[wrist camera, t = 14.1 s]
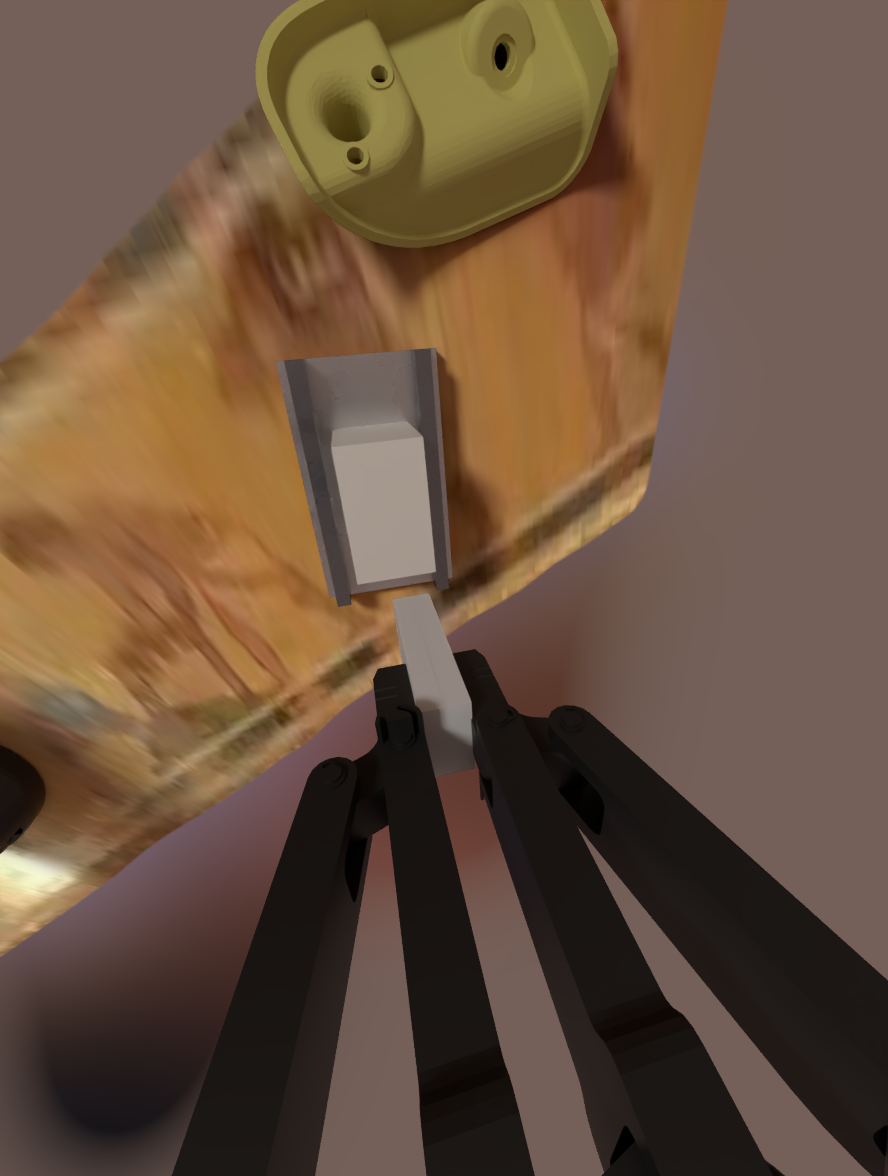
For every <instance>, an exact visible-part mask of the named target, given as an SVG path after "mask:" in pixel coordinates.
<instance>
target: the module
mask: <svg viewBox="0 0 888 1176" xmlns="http://www.w3.org/2000/svg"><path fill="white" fill-rule="evenodd" d="M331 450H332V455H333V460H334V465H335V471H336V476H337V481H338V486H339V491H340V497H341V504H342V510H343V515H344V520H345V525H346V530H347V535H348V538H349V543H350V548H351V553H352V559H353V564H354V569H355V574H356V579H357V584H358V585H359V584H365V583H371V582H377V581H383V580H389V579H396V578H402V577H408V576H414V575H420V574H426V573H433V572H436V567H435V557H434V546H433V536H432V525H431V514H430V503H429V493H428V483H427V472H426V462H425V451H424V441H423V436H422V435H421V434H420V433H419V432H418V431H417V430H416V429H415V428H413V427H412V426H411V425H410V424H409V423H408V422H407V421H405V422H396V423H387V424H378V425H369V426H359V427H350V428H341V429H333V430H332V442H331Z"/></svg>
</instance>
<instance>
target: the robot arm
mask: <svg viewBox="0 0 888 1176" xmlns="http://www.w3.org/2000/svg"><path fill="white" fill-rule="evenodd" d="M392 600H393V607H394V614H395V620H396V627H397V634H398V640H399V647H400V654H401V658H402V663H403V664H401V665H396V666H390V667H385V668H380V669H378V670H377V672H376V674H375V676H374V679H373V683H374V691H375V700H376V709H377V717H376V722H375V726H376V731H377V736H378V741H377V743H376V744H375V746H374V747H373V748H372V749H371V751H369V752H368V753H367V754H366V755H364V756H362V757H360V758H358V759H357V760H355V761H353V762H352V761H351V760H349V759H347V758H341V757H335V758H330V759H327V760H325V761H323V762H321V763H320V764H318V765H317V766H316V767H315V768H314V769H313V770H312V772H311V774H310V775H309V777H308V779H307V782H306V786H305V788H304V791H303V794H302V797H301V800H300V803H299V805H298V809H297V811H296V814H295V817H294V820H293V823H292V826H291V829H290V832H289V835H288V838H287V840H286V843H285V846H284V850H283V852H282V855H281V858H280V861H279V864H278V867H277V870H276V873H275V876H274V878H273V882H272V884H271V887H270V890H269V893H268V896H267V899H266V902H265V905H264V908H263V911H262V914H261V916H260V919H259V922H258V925H257V928H256V931H255V934H254V937H253V940H252V943H251V946H250V949H249V951H248V955H247V957H246V960H245V963H244V966H243V969H242V972H241V975H240V978H239V981H238V984H237V987H236V990H235V992H234V995H233V998H232V1001H231V1004H230V1007H229V1010H228V1013H227V1016H226V1019H225V1022H224V1025H223V1027H222V1030H221V1034H220V1036H219V1039H218V1042H217V1045H216V1048H215V1051H214V1054H213V1057H212V1060H211V1063H210V1066H209V1068H208V1071H207V1074H206V1077H205V1080H204V1083H203V1086H202V1089H201V1092H200V1095H199V1098H198V1101H197V1104H196V1106H195V1109H194V1112H193V1115H192V1118H191V1121H190V1124H189V1127H188V1130H187V1133H186V1136H185V1139H184V1141H183V1144H182V1147H181V1150H180V1153H179V1156H178V1159H177V1162H176V1165H175V1168H174V1171H173V1174H172V1176H315V1173H316V1167H317V1161H318V1154H319V1149H320V1143H321V1137H322V1131H323V1125H324V1120H325V1114H326V1108H327V1102H328V1096H329V1089H330V1084H331V1078H332V1072H333V1066H334V1060H335V1054H336V1049H337V1043H338V1037H339V1031H340V1025H341V1019H342V1013H343V1007H344V1001H345V995H346V990H347V983H348V978H349V972H350V965H351V960H352V954H353V948H354V942H355V936H356V930H357V925H358V919H359V912H360V907H361V901H362V895H363V889H364V883H365V877H366V871H367V866H368V860H369V854H370V848H371V842H372V835H373V834H374V833H376V832H378V831H379V830H381V829H383V828H384V827H386V826H387V825H389V832H390V840H391V850H392V858H393V866H394V875H395V884H396V893H397V901H398V909H399V919H400V927H401V935H402V944H403V953H404V962H405V970H406V979H407V987H408V996H409V1005H410V1014H411V1022H412V1030H413V1039H414V1048H415V1057H416V1065H417V1074H418V1083H419V1096H420V1117H421V1128H422V1138H423V1148H424V1157H425V1166H426V1175H427V1176H535V1175H534V1171H533V1167H532V1163H531V1159H530V1155H529V1150H528V1146H527V1143H526V1138H525V1134H524V1130H523V1126H522V1122H521V1118H520V1114H519V1110H518V1106H517V1102H516V1098H515V1094H514V1090H513V1087H512V1084H511V1080H510V1076H509V1074H508V1071H507V1069H506V1066H505V1063H504V1060H503V1056H502V1052H501V1048H500V1044H499V1040H498V1036H497V1031H496V1027H495V1023H494V1019H493V1015H492V1010H491V1007H490V1002H489V998H488V994H487V990H486V986H485V982H484V977H483V973H482V969H481V965H480V961H479V957H478V953H477V948H476V944H475V940H474V936H473V931H472V927H471V923H470V919H469V915H468V911H467V907H466V902H465V898H464V894H463V890H462V886H461V882H460V877H459V874H458V869H457V865H456V861H455V857H454V852H453V848H452V844H451V840H450V836H449V832H448V828H447V824H446V819H445V815H444V811H443V807H442V803H441V799H440V794H439V790H438V786H437V782H436V777H440V776H444V775H448V774H452V773H457V772H461V771H465V770H470V769H474V768H475V760H476V763H477V766H478V769H479V780H480V796H481V800H483V799H484V797H485V800H486V803H487V806H488V809H489V812H490V815H491V818H492V821H493V824H494V827H495V830H496V833H497V836H498V839H499V842H500V844H501V848H502V851H503V854H504V857H505V860H506V863H507V866H508V869H509V871H510V874H511V878H512V881H513V883H514V887H515V890H516V893H517V896H518V899H519V901H520V905H521V908H522V911H523V913H524V916H525V919H526V922H527V925H528V928H529V931H530V934H531V937H532V940H533V943H534V946H535V949H536V952H537V955H538V958H539V961H540V964H541V967H542V970H543V973H544V976H545V979H546V982H547V985H548V988H549V991H550V994H551V997H552V1000H553V1003H554V1006H555V1009H556V1012H557V1015H558V1018H559V1021H560V1024H561V1027H562V1030H563V1033H564V1036H565V1039H566V1042H567V1045H568V1048H569V1051H570V1054H571V1056H572V1060H573V1063H574V1066H575V1069H576V1072H577V1075H578V1078H579V1081H580V1085H581V1089H582V1093H583V1098H584V1104H585V1108H586V1114H587V1117H588V1121H589V1125H590V1128H591V1132H592V1136H593V1139H594V1142H595V1145H596V1148H597V1152H598V1154H599V1158H600V1161H601V1164H602V1166H603V1170H604V1174H603V1175H602V1176H784V1175H783V1174H782V1173H781V1172H780V1171H779V1170H777V1169H776V1168H775V1167H774V1166H773V1165H771V1164H770V1163H768V1162H767V1161H766V1160H765V1159H764V1158H763V1156H762V1154H761V1152H760V1150H759V1148H758V1146H757V1144H756V1143H755V1141H754V1139H753V1137H752V1135H751V1133H750V1131H749V1130H748V1127H747V1126H746V1124H745V1122H744V1120H743V1118H742V1116H741V1114H740V1112H739V1111H738V1109H737V1107H736V1105H735V1103H734V1101H733V1099H732V1097H731V1096H730V1094H729V1092H728V1090H727V1088H726V1086H725V1084H724V1082H723V1081H722V1079H721V1077H720V1075H719V1073H718V1071H717V1069H716V1067H715V1066H714V1064H713V1062H712V1060H711V1058H710V1056H709V1054H708V1053H707V1051H706V1049H705V1047H704V1045H703V1043H702V1042H701V1040H700V1038H699V1036H698V1035H697V1033H696V1032H695V1030H694V1028H693V1027H692V1025H691V1024H690V1023H689V1022H688V1020H687V1019H686V1018H685V1016H684V1015H683V1014H681V1013H680V1012H678V1011H677V1010H676V1009H674V1008H673V1007H672V1006H671V1005H670V1004H669V1002H668V1001H667V1000H666V999H665V997H664V995H663V993H662V991H661V990H660V988H659V986H658V984H657V982H656V980H655V978H654V976H653V974H652V972H651V970H650V968H649V966H648V964H647V963H646V961H645V958H644V956H643V954H642V952H641V950H640V948H639V946H638V944H637V943H636V941H635V939H634V937H633V935H632V933H631V931H630V929H629V927H628V925H627V923H626V921H625V919H624V917H623V915H622V913H621V911H620V909H619V907H618V905H617V904H616V901H615V900H614V898H613V896H612V894H611V892H610V890H609V888H608V886H607V884H606V882H605V880H604V878H603V876H602V874H601V872H600V870H599V868H598V866H597V864H596V863H595V860H594V859H593V856H592V855H591V853H590V851H589V849H588V847H587V845H586V843H585V841H584V839H583V837H582V835H581V833H580V831H579V829H580V830H581V831H582V832H583V834H584V835H585V836H586V837H587V838H588V840H589V841H590V842H591V843H592V845H593V846H594V847H595V848H596V850H597V851H598V852H599V853H600V855H601V856H602V857H603V858H604V859H605V861H606V862H607V863H608V864H609V866H610V867H611V868H612V869H613V871H614V872H615V873H616V874H617V875H618V877H619V878H620V879H621V880H622V882H623V883H624V884H625V885H626V887H627V888H628V889H629V890H630V891H631V893H632V894H633V895H634V896H635V898H636V899H637V900H638V901H639V903H640V904H641V905H642V906H643V907H644V909H645V910H646V911H647V912H648V914H649V915H650V916H651V917H652V919H653V920H654V921H655V922H656V923H657V925H658V926H659V927H660V928H661V930H662V931H663V932H664V933H665V935H666V936H667V937H668V938H669V940H670V941H671V942H672V943H673V944H674V946H675V947H676V948H677V949H678V951H679V952H680V953H681V954H682V956H683V957H684V958H685V959H686V960H687V962H688V963H689V964H690V965H691V966H692V968H693V969H694V970H695V972H696V973H697V974H698V975H699V976H700V978H701V979H702V980H703V981H704V983H705V984H706V985H707V986H708V987H709V989H710V990H711V991H712V992H713V994H714V995H715V996H716V997H717V999H718V1000H719V1001H720V1002H721V1004H722V1005H723V1006H724V1007H725V1009H726V1010H727V1011H728V1012H729V1013H730V1015H731V1016H732V1017H733V1018H734V1020H735V1021H736V1022H737V1023H738V1025H739V1026H740V1027H741V1028H742V1029H743V1031H744V1032H745V1033H746V1034H747V1035H748V1037H749V1038H750V1039H751V1041H752V1042H753V1043H754V1044H755V1045H756V1047H757V1048H758V1049H759V1050H760V1052H761V1053H762V1054H763V1055H764V1056H765V1058H766V1059H767V1060H768V1061H769V1063H770V1064H771V1065H772V1066H773V1068H774V1069H775V1070H776V1071H777V1073H778V1074H779V1075H780V1076H781V1078H782V1079H783V1080H784V1081H785V1082H786V1084H787V1085H788V1086H789V1087H790V1089H791V1090H792V1091H793V1092H794V1093H795V1094H796V1096H797V1097H798V1098H799V1099H800V1100H801V1101H802V1102H803V1104H804V1105H805V1106H806V1107H807V1108H808V1109H809V1111H810V1112H811V1113H812V1114H813V1115H814V1116H815V1117H816V1119H817V1120H818V1121H819V1122H820V1123H821V1125H822V1126H823V1127H824V1128H825V1129H826V1130H827V1131H828V1132H829V1133H830V1134H831V1135H832V1136H833V1137H834V1138H835V1139H836V1140H837V1141H838V1142H839V1143H840V1144H841V1145H842V1146H843V1147H844V1148H845V1149H846V1150H847V1151H848V1152H849V1153H850V1154H851V1156H853V1158H854V1159H855V1160H857V1162H858V1163H859V1164H860V1165H861V1166H862V1167H863V1168H864V1169H866V1170H867V1171H868V1172H869V1173H870V1174H871V1175H872V1176H888V980H887V979H886V978H884V977H883V976H882V975H881V974H880V973H879V972H878V971H877V970H875V969H874V968H873V967H872V966H871V965H870V964H869V963H868V962H867V961H865V960H864V959H863V958H862V957H861V956H860V955H859V954H858V953H857V952H855V951H854V950H853V949H852V948H851V947H850V946H849V945H848V944H847V943H845V942H844V941H843V940H842V939H841V938H840V937H838V935H837V934H835V933H834V932H833V931H832V930H831V929H830V928H829V927H828V926H827V925H825V924H824V923H823V922H822V921H821V920H820V919H819V918H818V917H817V916H815V915H814V914H813V913H812V912H811V911H810V910H809V909H808V908H806V907H805V906H804V905H803V904H802V903H801V902H800V901H799V900H797V899H796V898H795V897H794V896H793V895H792V894H791V893H790V892H789V891H788V890H786V889H785V888H784V887H783V886H782V885H781V884H780V883H778V881H776V880H775V879H774V878H773V877H772V876H771V875H770V874H768V873H767V872H766V871H765V870H764V869H763V868H762V867H761V866H760V865H759V864H757V863H756V862H755V861H754V860H753V859H752V858H751V857H750V856H749V855H747V854H746V853H745V852H744V851H743V850H742V849H741V848H740V847H739V846H737V845H736V844H735V843H734V842H733V841H732V840H731V839H730V838H728V837H727V836H726V835H725V834H724V833H723V832H722V831H721V830H720V829H718V828H717V827H716V826H715V825H714V824H713V823H712V822H711V821H710V820H708V819H707V818H706V817H705V816H704V815H703V814H702V813H701V812H699V811H698V810H697V809H696V808H695V807H694V806H693V805H691V803H689V802H688V801H687V800H686V799H685V798H684V797H683V796H682V795H680V794H679V793H678V792H677V791H676V790H675V789H674V788H673V787H672V786H670V785H669V784H668V783H667V782H666V781H665V780H664V779H663V778H662V777H660V776H659V775H658V774H657V773H656V772H655V771H654V770H653V769H652V768H650V767H649V766H648V765H647V764H646V763H645V762H644V761H643V760H641V759H640V758H639V757H638V756H637V755H636V754H635V753H634V752H633V751H632V750H630V749H629V748H628V747H627V746H626V745H625V744H624V743H623V742H622V741H620V740H619V739H618V738H617V737H616V736H615V735H614V734H613V733H611V732H610V731H609V730H608V729H607V728H606V727H605V726H604V725H603V724H601V723H600V722H599V721H598V720H597V719H596V718H595V717H594V716H592V715H591V714H590V713H589V712H587V711H586V710H584V709H582V708H580V707H576V706H569V705H564V706H561V707H557V708H556V709H554V710H553V711H551V713H550V715H549V718H540V717H529V716H525V715H522V714H519V713H518V711H517V710H516V709H515V708H513V707H511V706H510V705H509V704H508V703H507V701H506V699H505V697H504V695H503V693H502V691H501V689H500V687H499V685H498V683H497V681H496V679H495V677H494V676H493V673H492V671H491V669H490V668H489V665H488V663H487V661H486V659H485V657H484V656H483V655H482V654H480V653H479V652H478V651H476V650H475V649H473V650H468V651H463V652H458V653H453V654H452V652H451V649H450V646H449V644H448V641H447V639H446V636H445V634H444V631H443V628H442V626H441V623H440V621H439V618H438V616H437V613H436V611H435V608H434V606H433V603H432V600H431V598H430V595H429V593H427V594H421V595H416V596H410V597H404V598H398V599H392ZM44 800H45V788H44V784H43V782H42V780H41V778H40V776H39V775H38V773H37V772H36V771H35V770H34V768H33V767H32V766H31V765H29V764H28V763H27V762H26V761H25V760H23V759H22V758H21V757H19V756H18V755H16V754H14V753H13V752H11V751H9V750H7V749H5V748H3V747H0V854H1V853H2V852H3V851H4V850H5V849H6V848H7V847H8V846H9V845H11V844H12V843H14V842H15V841H16V840H17V839H18V838H19V837H21V836H22V835H23V834H24V832H25V831H26V830H27V829H28V828H29V826H30V825H31V823H32V822H33V820H34V819H35V817H36V816H37V814H38V813H39V811H40V810H41V808H42V806H43V804H44ZM577 826H578V827H579V829H578V827H577Z"/></svg>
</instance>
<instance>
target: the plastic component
mask: <svg viewBox="0 0 888 1176" xmlns="http://www.w3.org/2000/svg"><path fill="white" fill-rule="evenodd" d="M500 43H501V44H502V45H504V46H505V49H506V52H507V62H506V64H505V67H504V69H503V70H502V71H501V70H498V68H497V66H496V65H495V59H494V56H495V51H496V47H497V46H498V45H499V44H500ZM617 65H618V47H617V39H616V36H615V33H614V31H613V29H612V26H611V24H610V22H609V19H608V17H607V14H606V12H605V10H604V7H603V5H602V3H601V0H299V1H298V2H296V3H294V4H293V5H291V6H290V7H289V8H288V9H286V10H285V11H284V12H282V13H281V14H280V15H279V16H278V17H277V18H276V20H275V21H274V22H273V23H272V24H271V25H270V27H269V28H268V30H267V31H266V33H265V35H264V37H263V39H262V42H261V44H260V47H259V51H258V55H257V60H256V84H257V89H258V95H259V98H260V101H261V104H262V107H263V110H264V112H265V114H266V117H267V119H268V121H269V123H270V125H271V127H272V129H273V131H274V133H275V135H276V137H277V139H278V140H279V142H280V144H281V146H282V148H283V150H284V152H285V154H286V156H287V158H288V160H289V162H290V164H291V166H292V168H293V170H294V172H295V174H296V176H297V177H298V179H299V181H300V183H301V184H302V186H303V187H304V189H305V190H306V192H307V193H308V195H309V196H310V197H311V199H312V200H313V201H314V202H315V204H316V205H317V206H318V207H319V208H320V209H321V210H322V211H323V212H324V213H326V214H327V215H328V216H329V217H330V218H331V219H332V220H334V221H335V222H336V223H338V224H339V225H340V226H342V227H343V228H345V229H347V230H349V231H350V232H352V233H354V234H356V235H358V236H360V237H363V238H365V239H368V240H370V241H373V242H377V243H380V244H384V245H389V246H395V247H406V248H421V247H429V246H436V245H441V244H445V243H449V242H452V241H455V240H459V239H462V238H465V237H467V236H469V235H471V234H474V233H476V232H478V231H480V230H482V229H485V228H487V227H489V226H491V225H494V224H496V223H498V222H500V221H502V220H505V219H507V218H509V217H511V216H514V215H516V214H518V213H520V212H523V211H525V210H527V209H529V208H531V207H534V206H536V205H538V204H540V203H543V202H545V201H547V200H549V199H551V198H554V197H555V196H556V195H558V194H559V193H560V192H562V191H563V190H564V189H565V188H566V187H567V186H568V185H569V184H570V183H571V182H572V181H573V179H574V178H575V177H576V176H577V174H578V173H579V172H580V170H581V168H582V167H583V165H584V164H585V162H586V160H587V158H588V156H589V154H590V152H591V149H592V146H593V143H594V140H595V137H596V134H597V131H598V127H599V124H600V121H601V118H602V115H603V112H604V109H605V106H606V103H607V100H608V97H609V94H610V91H611V87H612V84H613V81H614V78H615V75H616V70H617ZM379 78H381V79H383V80H385V82H382V83H379V82H376V81H375V79H379Z"/></svg>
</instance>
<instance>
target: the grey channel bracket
mask: <svg viewBox="0 0 888 1176" xmlns="http://www.w3.org/2000/svg"><path fill="white" fill-rule="evenodd" d="M276 366H277V370H278V374H279V379H280V383H281V387H282V392H283V396H284V401H285V405H286V409H287V414H288V418H289V422H290V427H291V431H292V435H293V440H294V444H295V449H296V453H297V457H298V462H299V466H300V470H301V475H302V479H303V484H304V488H305V492H306V497H307V501H308V505H309V510H310V514H311V519H312V523H313V527H314V532H315V536H316V540H317V545H318V549H319V553H320V558H321V562H322V567H323V571H324V575H325V580H326V584H327V588H328V593H329V597H330V598H332V597H336V599H337V604H338V607H340V606H346V605H351V594H356V593H362V592H368V591H374V590H381V589H387V588H393V587H399V586H405V585H411V584H417V583H423V582H430V581H433V582H434V585H435V587H436V590H442V589H448V588H449V579H448V578H453V575H452V561H451V548H450V534H449V520H448V506H447V493H446V479H445V465H444V451H443V437H442V424H441V410H440V396H439V382H438V368H437V355H436V348H430V349H418V350H406V351H394V352H382V353H370V354H358V355H347V356H335V357H323V358H311V359H299V360H287V361H276ZM405 421H407V422H408V423H409V424H410V425H411V426H412V427H413V428H415V429H416V430H417V431H418V432H419V433H420V434H421V435H422V436H423V441H424V451H425V462H426V472H427V483H428V493H429V503H430V514H431V525H432V536H433V546H434V557H435V567H436V572H433V573H426V574H420V575H414V576H408V577H402V578H396V579H389V580H383V581H377V582H371V583H365V584H359V585H358V584H357V579H356V574H355V569H354V564H353V559H352V553H351V548H350V543H349V538H348V535H347V530H346V525H345V520H344V515H343V510H342V504H341V497H340V491H339V486H338V481H337V476H336V471H335V465H334V460H333V455H332V450H331V442H332V430H333V429H341V428H350V427H359V426H369V425H378V424H387V423H396V422H405Z"/></svg>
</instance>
